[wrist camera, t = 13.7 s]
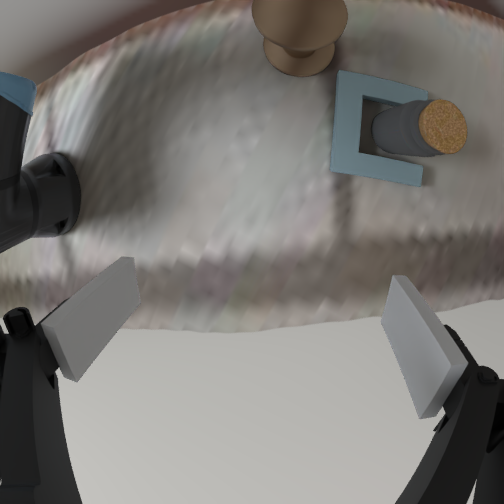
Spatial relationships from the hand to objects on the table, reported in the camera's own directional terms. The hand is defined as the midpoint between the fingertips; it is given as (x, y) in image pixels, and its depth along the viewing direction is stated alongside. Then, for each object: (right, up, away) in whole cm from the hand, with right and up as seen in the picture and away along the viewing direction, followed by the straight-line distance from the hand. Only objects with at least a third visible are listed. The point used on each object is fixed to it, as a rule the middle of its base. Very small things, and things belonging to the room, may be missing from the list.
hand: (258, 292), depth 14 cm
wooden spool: (+6, +28, +15) cm, 33 cm away
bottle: (+18, +18, +18) cm, 31 cm away
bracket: (+16, +18, +18) cm, 30 cm away
